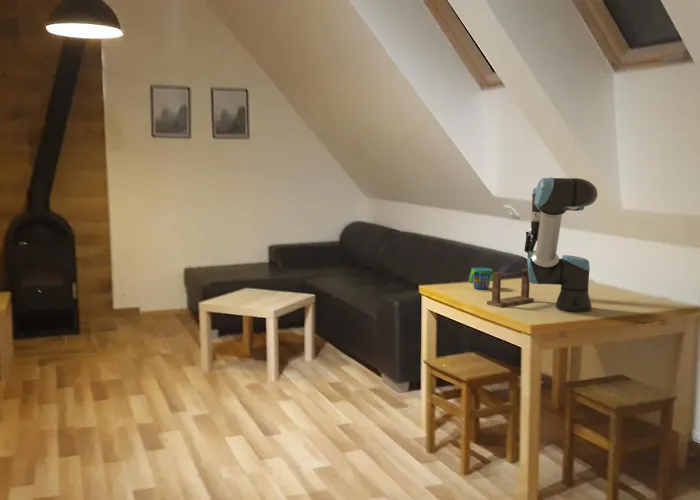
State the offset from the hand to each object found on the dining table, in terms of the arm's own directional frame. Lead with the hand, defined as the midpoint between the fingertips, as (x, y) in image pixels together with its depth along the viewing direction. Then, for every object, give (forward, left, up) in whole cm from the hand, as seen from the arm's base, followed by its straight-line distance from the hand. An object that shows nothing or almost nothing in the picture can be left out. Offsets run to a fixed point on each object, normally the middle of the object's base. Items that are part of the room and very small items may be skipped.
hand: (537, 268), depth 349 cm
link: (0, 0, 0) cm, 0 cm away
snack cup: (+29, +7, -14) cm, 33 cm away
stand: (-4, +23, -14) cm, 27 cm away
